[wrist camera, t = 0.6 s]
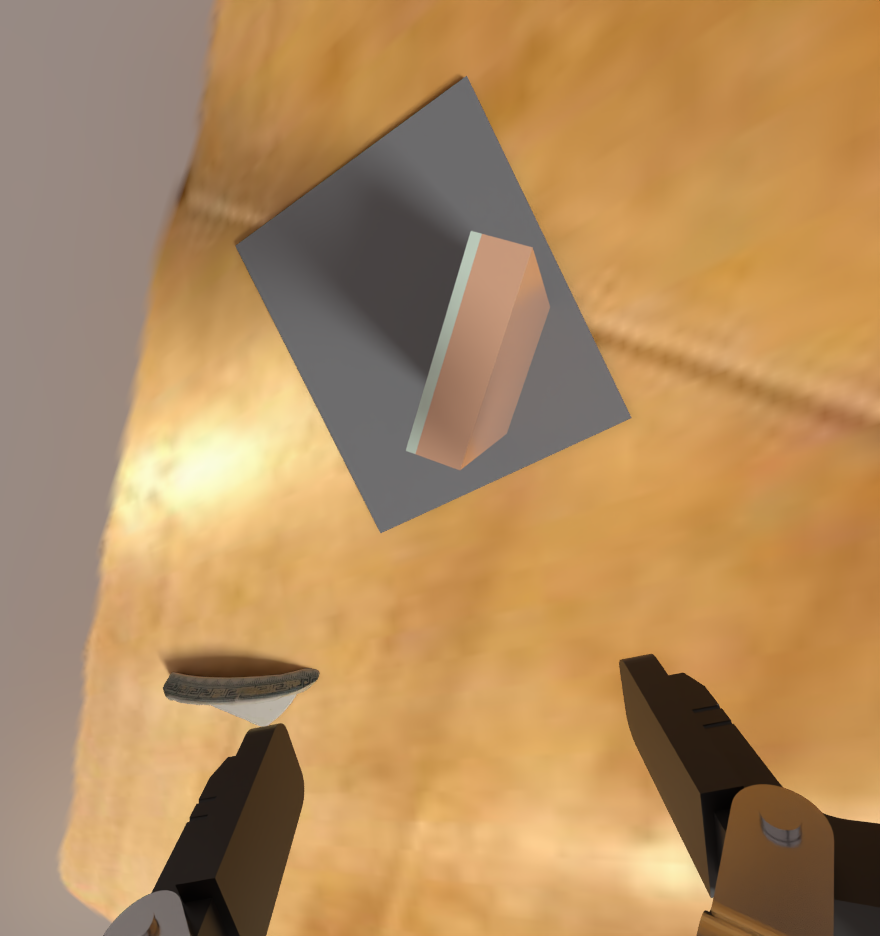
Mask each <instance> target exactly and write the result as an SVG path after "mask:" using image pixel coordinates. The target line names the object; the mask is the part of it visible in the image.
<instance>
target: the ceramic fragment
mask: <svg viewBox="0 0 880 936" xmlns="http://www.w3.org/2000/svg"><path fill="white" fill-rule="evenodd" d="M319 674H320V673H319V671H318V670H316V669H310V668H306V669H301V670H298V671H294V672H289V673H285V674H281V675H268V676H255V677H233V678H224V677H200V676H191V675H184V674H180V673H176V672H172V673H171V674H170V676H169V678H168V679H167V681H166V683H165V684H164V687H163V690H164V693H165V696H166V697H167V698H168V699H169V700H175V701H177V702H180V703H186V704H195V705H211V706H214V707H216V708H218V709H220V710H223V711H225V712H228V713H230V714H232V715H235V716H237V717H240V718H242V719H245V720H247V721H249V722H251V723H253V724H255V725H259V726H261V727H264V726H268V725H269V724H270V723H271V722H273V721H274V720H275V719H277V718H278V717H279V716H280V715H281V714H282V713H283V712H284V711H285V710H286V709H287V708H288V706H289V705H290V704H291V703H292V701H293V699H294V698H295V697H296V695H297V694H298V693H301V692H304V691H306V690H307V689H308V688H310V687H311V686H312V685H313V684H314V683H315V682H316V680H317V679H318V677H319Z"/></svg>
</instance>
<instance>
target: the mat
mask: <svg viewBox="0 0 880 936" xmlns="http://www.w3.org/2000/svg"><path fill="white" fill-rule="evenodd" d="M471 231H474V232H477V233H481V234H485V235H488V236H492V237H496V238H500V239H503V240H507V241H511V242H514V243H518V244H522V245H525V246H529V247H533V250H534V254H535V257H536V260H537V264H538V267H539V270H540V274H541V277H542V281H543V284H544V287H545V291H546V294H547V298H548V301H549V304H550V309H549V312H548V315H547V318H546V321H545V324H544V327H543V330H542V332H541V335H540V338H539V341H538V344H537V347H536V350H535V353H534V356H533V359H532V362H531V365H530V367H529V370H528V373H527V376H526V379H525V382H524V385H523V388H522V391H521V394H520V397H519V400H518V402H517V405H516V408H515V411H514V414H513V417H512V420H511V423H510V426H509V429H508V432H507V434H506V435H504V436H503V437H502V438H501V439H499V440H498V441H497V442H496V443H494V444H493V445H492V446H490V447H489V448H488V449H487V450H485V451H484V452H483V453H482V454H480V455H479V456H478V457H476V458H475V459H474V460H473V461H471V462H470V463H469V464H468V465H466V466H465V467H464V468H462V469H461V470H457V469H455V468H452V467H449V466H446V465H444V464H441V463H438V462H435V461H433V460H430V459H427V458H424V457H422V456H419V455H416V454H413V453H411V452H408V451H406V448H407V444H408V441H409V438H410V434H411V431H412V428H413V424H414V421H415V417H416V414H417V411H418V407H419V404H420V401H421V397H422V394H423V390H424V387H425V384H426V380H427V377H428V374H429V370H430V367H431V363H432V360H433V357H434V353H435V350H436V347H437V343H438V340H439V336H440V333H441V330H442V326H443V323H444V320H445V316H446V313H447V309H448V306H449V303H450V299H451V296H452V293H453V289H454V286H455V283H456V279H457V276H458V272H459V269H460V266H461V262H462V259H463V256H464V252H465V249H466V245H467V242H468V239H469V235H470V232H471ZM236 248H237V250H238V252H239V254H240V256H241V258H242V260H243V262H244V264H245V266H246V268H247V270H248V272H249V274H250V276H251V278H252V280H253V282H254V284H255V286H256V288H257V290H258V292H259V293H260V295H261V297H262V299H263V301H264V303H265V305H266V307H267V309H268V311H269V313H270V315H271V317H272V319H273V321H274V323H275V325H276V327H277V329H278V331H279V333H280V335H281V337H282V339H283V341H284V343H285V345H286V347H287V349H288V351H289V353H290V355H291V357H292V359H293V361H294V363H295V365H296V367H297V369H298V371H299V373H300V375H301V377H302V379H303V381H304V383H305V385H306V386H307V388H308V390H309V392H310V394H311V396H312V398H313V400H314V402H315V404H316V406H317V408H318V410H319V412H320V414H321V416H322V418H323V420H324V422H325V424H326V426H327V428H328V430H329V432H330V434H331V436H332V438H333V440H334V442H335V444H336V446H337V448H338V450H339V452H340V454H341V456H342V458H343V460H344V462H345V464H346V466H347V468H348V470H349V472H350V474H351V476H352V478H353V480H354V481H355V483H356V485H357V487H358V489H359V491H360V493H361V495H362V497H363V499H364V501H365V503H366V505H367V507H368V509H369V511H370V513H371V515H372V517H373V519H374V521H375V523H376V525H377V527H378V529H379V531H380V533H382V532H384V531H387V530H389V529H391V528H393V527H395V526H397V525H400V524H402V523H404V522H406V521H408V520H411V519H413V518H415V517H417V516H419V515H421V514H424V513H426V512H428V511H430V510H432V509H434V508H437V507H439V506H441V505H443V504H445V503H448V502H450V501H452V500H454V499H456V498H458V497H461V496H463V495H465V494H467V493H469V492H471V491H474V490H476V489H478V488H480V487H482V486H485V485H487V484H489V483H491V482H493V481H495V480H498V479H500V478H502V477H504V476H506V475H508V474H511V473H513V472H515V471H517V470H519V469H522V468H524V467H526V466H528V465H530V464H532V463H535V462H537V461H539V460H541V459H543V458H545V457H548V456H550V455H552V454H554V453H556V452H559V451H561V450H563V449H565V448H567V447H569V446H572V445H574V444H576V443H578V442H580V441H582V440H585V439H587V438H589V437H591V436H593V435H596V434H598V433H600V432H602V431H604V430H606V429H609V428H611V427H613V426H615V425H617V424H620V423H622V422H624V421H626V420H628V419H630V418H631V416H630V414H629V412H628V410H627V407H626V405H625V403H624V401H623V399H622V397H621V395H620V393H619V391H618V389H617V387H616V385H615V383H614V380H613V378H612V376H611V374H610V372H609V370H608V368H607V366H606V364H605V362H604V360H603V358H602V356H601V353H600V351H599V349H598V347H597V345H596V343H595V341H594V339H593V337H592V335H591V333H590V331H589V329H588V327H587V324H586V322H585V320H584V318H583V316H582V314H581V312H580V310H579V308H578V306H577V304H576V302H575V300H574V297H573V295H572V293H571V291H570V289H569V287H568V285H567V283H566V281H565V279H564V277H563V275H562V273H561V270H560V268H559V266H558V264H557V262H556V260H555V258H554V256H553V254H552V252H551V250H550V248H549V246H548V243H547V241H546V239H545V237H544V235H543V233H542V231H541V229H540V227H539V225H538V223H537V221H536V219H535V216H534V214H533V212H532V210H531V208H530V206H529V204H528V202H527V200H526V198H525V196H524V194H523V192H522V190H521V187H520V185H519V183H518V181H517V179H516V177H515V175H514V173H513V171H512V169H511V167H510V165H509V163H508V160H507V158H506V156H505V154H504V152H503V150H502V148H501V146H500V144H499V142H498V140H497V138H496V136H495V133H494V131H493V129H492V127H491V125H490V123H489V121H488V119H487V117H486V115H485V113H484V111H483V109H482V106H481V104H480V102H479V100H478V98H477V96H476V94H475V92H474V90H473V88H472V86H471V84H470V82H469V79H468V77H467V76H466V77H464V78H463V79H462V80H460V81H459V82H458V83H456V84H455V85H453V86H452V87H451V88H449V89H448V90H447V91H445V92H444V93H443V94H441V95H440V96H438V97H437V98H436V99H434V100H433V101H432V102H430V103H429V104H428V105H426V106H425V107H424V108H422V109H421V110H419V111H418V112H417V113H415V114H414V115H413V116H411V117H410V118H409V119H407V120H406V121H404V122H403V123H402V124H400V125H399V126H398V127H396V128H395V129H394V130H392V131H391V132H390V133H388V134H387V135H385V136H384V137H383V138H381V139H380V140H379V141H377V142H376V143H375V144H373V145H372V146H370V147H369V148H368V149H366V150H365V151H364V152H362V153H361V154H360V155H358V156H357V157H356V158H354V159H353V160H351V161H350V162H349V163H347V164H346V165H345V166H343V167H342V168H341V169H339V170H338V171H336V172H335V173H334V174H332V175H331V176H330V177H328V178H327V179H326V180H324V181H323V182H322V183H320V184H319V185H317V186H316V187H315V188H313V189H312V190H311V191H309V192H308V193H307V194H305V195H304V196H302V197H301V198H300V199H298V200H297V201H296V202H294V203H293V204H292V205H290V206H289V207H288V208H286V209H285V210H283V211H282V212H281V213H279V214H278V215H277V216H275V217H274V218H273V219H271V220H270V221H268V222H267V223H266V224H264V225H263V226H262V227H260V228H259V229H258V230H256V231H255V232H254V233H252V234H251V235H249V236H248V237H247V238H245V239H244V240H243V241H241V242H240V243H239V244H237V245H236Z"/></svg>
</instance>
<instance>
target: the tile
mask: <svg viewBox="0 0 880 936" xmlns="http://www.w3.org/2000/svg"><path fill="white" fill-rule="evenodd" d="M549 309H550V304H549V301H548V298H547V294H546V291H545V287H544V284H543V281H542V277H541V274H540V270H539V267H538V264H537V260H536V257H535V254H534V250H533V247H529V246H525V245H522V244H518V243H514V242H511V241H507V240H503V239H500V238H496V237H492V236H488V235H485V234H481V233H477V232H474V231H471V232H470V235H469V239H468V242H467V245H466V249H465V252H464V256H463V259H462V262H461V266H460V269H459V272H458V276H457V279H456V283H455V286H454V289H453V293H452V296H451V299H450V303H449V306H448V309H447V313H446V316H445V320H444V323H443V326H442V330H441V333H440V336H439V340H438V343H437V347H436V350H435V353H434V357H433V360H432V363H431V367H430V370H429V374H428V377H427V380H426V384H425V387H424V390H423V394H422V397H421V401H420V404H419V407H418V411H417V414H416V417H415V421H414V424H413V428H412V431H411V434H410V438H409V441H408V444H407V448H406V451H408V452H411V453H413V454H416V455H419V456H422V457H424V458H427V459H430V460H433V461H435V462H438V463H441V464H444V465H446V466H449V467H452V468H455V469H457V470H461V469H462V468H464V467H465V466H466V465H468V464H469V463H470V462H471V461H473V460H474V459H475V458H476V457H478V456H479V455H480V454H482V453H483V452H484V451H485V450H487V449H488V448H489V447H490V446H492V445H493V444H494V443H496V442H497V441H498V440H499V439H501V438H502V437H503V436H504V435H506V434H507V432H508V429H509V426H510V423H511V420H512V417H513V414H514V411H515V408H516V405H517V402H518V400H519V397H520V394H521V391H522V388H523V385H524V382H525V379H526V376H527V373H528V370H529V367H530V365H531V362H532V359H533V356H534V353H535V350H536V347H537V344H538V341H539V338H540V335H541V332H542V330H543V327H544V324H545V321H546V318H547V315H548V312H549Z"/></svg>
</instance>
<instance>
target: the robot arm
mask: <svg viewBox="0 0 880 936" xmlns="http://www.w3.org/2000/svg"><path fill="white" fill-rule="evenodd" d="M619 667H620V674H621V681H622V688H623V695H624V702H625V709H626V716H627V720H628V724H629V728H630V731H631V734H632V737H633V740H634V742H635V744H636V746H637V749H638V751H639V753H640V755H641V757H642V759H643V761H644V763H645V765H646V767H647V769H648V771H649V773H650V775H651V777H652V779H653V781H654V783H655V785H656V787H657V789H658V791H659V793H660V795H661V797H662V799H663V801H664V803H665V806H666V808H667V810H668V812H669V814H670V816H671V818H672V820H673V822H674V824H675V826H676V828H677V830H678V832H679V834H680V836H681V838H682V840H683V842H684V844H685V846H686V848H687V850H688V852H689V854H690V856H691V858H692V860H693V862H694V865H695V867H696V869H697V871H698V873H699V875H700V877H701V879H702V881H703V883H704V885H705V887H706V889H707V891H708V893H709V895H710V897H711V898H713V897H714V898H713V903H712V907H711V910H710V912H708V911H704V912H703V914H702V917H701V920H700V923H699V927H698V932H697V936H880V824H878V823H870V822H861V821H853V820H846V819H841V818H836V817H833V816H829V815H826V814H824V813H822V812H821V811H820V810H819V809H818V808H817V807H816V806H815V805H814V804H813V803H811V802H810V801H809V800H807V799H806V798H804V797H803V796H801V795H799V794H797V793H795V792H793V791H791V790H789V789H786V788H783V787H782V786H781V784H780V783H779V782H778V781H777V779H776V778H775V777H774V776H773V774H772V773H771V772H770V770H769V769H768V768H767V766H766V765H765V764H764V763H763V761H762V760H761V759H760V757H759V756H758V755H757V754H756V752H755V751H754V750H753V748H752V747H751V746H750V744H749V743H748V742H747V741H746V739H745V738H744V737H743V735H742V734H741V733H740V731H739V730H738V729H737V728H736V726H735V725H734V724H732V723H731V720H730V718H729V717H728V716H727V715H726V713H725V712H724V711H723V709H722V708H721V709H720V707H719V704H718V703H717V702H716V700H715V699H714V698H713V696H712V695H711V694H710V692H709V691H708V690H707V689H706V687H705V686H703V685H702V684H700V683H699V682H697V681H696V680H694V679H693V678H691V677H690V676H688V675H686V674H685V673H679V674H674V675H668V674H667V673H666V671H665V670H664V668H663V667H662V666H661V664H660V663H659V661H658V660H657V658H656V657H655V656H654V655H653V654H648V655H643V656H637V657H632V658H627V659H622V660H620V662H619ZM303 800H304V780H303V775H302V771H301V769H300V766H299V763H298V760H297V757H296V754H295V751H294V748H293V746H292V743H291V740H290V737H289V734H288V731H287V729H286V727H285V726H284V724H281V723H280V724H275V725H270V726H264V727H259V728H254V729H250V730H249V731H248V732H247V734H246V735H245V737H244V740H243V742H242V744H241V746H240V748H239V750H238V752H237V754H236V756H232V757H228V758H227V759H226V760H225V761H224V762H223V763H222V765H221V766H220V767H219V768H218V769H217V770H216V771H215V772H214V774H213V775H212V776H211V777H210V778H209V780H208V782H207V784H206V786H205V788H204V790H203V792H202V794H201V796H200V798H199V804H196V806H195V808H194V810H193V812H192V814H191V816H190V821H189V822H187V824H186V826H185V828H184V830H183V832H182V834H181V836H180V838H179V840H178V841H177V843H176V845H175V847H174V849H173V851H172V853H171V855H170V857H169V859H168V861H167V863H166V865H165V867H164V869H163V871H162V873H161V875H160V877H159V879H158V881H157V883H156V885H155V887H154V889H153V891H152V893H151V894H148V895H146V896H144V897H142V898H141V899H139V900H137V901H136V902H134V903H133V904H132V905H130V906H129V907H128V908H127V909H126V910H124V911H123V912H122V913H121V914H120V915H119V916H118V917H117V918H116V919H115V920H114V922H113V923H112V924H111V925H110V927H109V928H108V929H107V931H106V932H105V934H104V935H103V936H266V934H267V930H268V927H269V923H270V920H271V916H272V913H273V909H274V905H275V902H276V898H277V895H278V891H279V888H280V884H281V880H282V877H283V873H284V870H285V866H286V863H287V859H288V855H289V852H290V848H291V845H292V841H293V838H294V834H295V830H296V827H297V823H298V820H299V816H300V813H301V809H302V805H303Z"/></svg>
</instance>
